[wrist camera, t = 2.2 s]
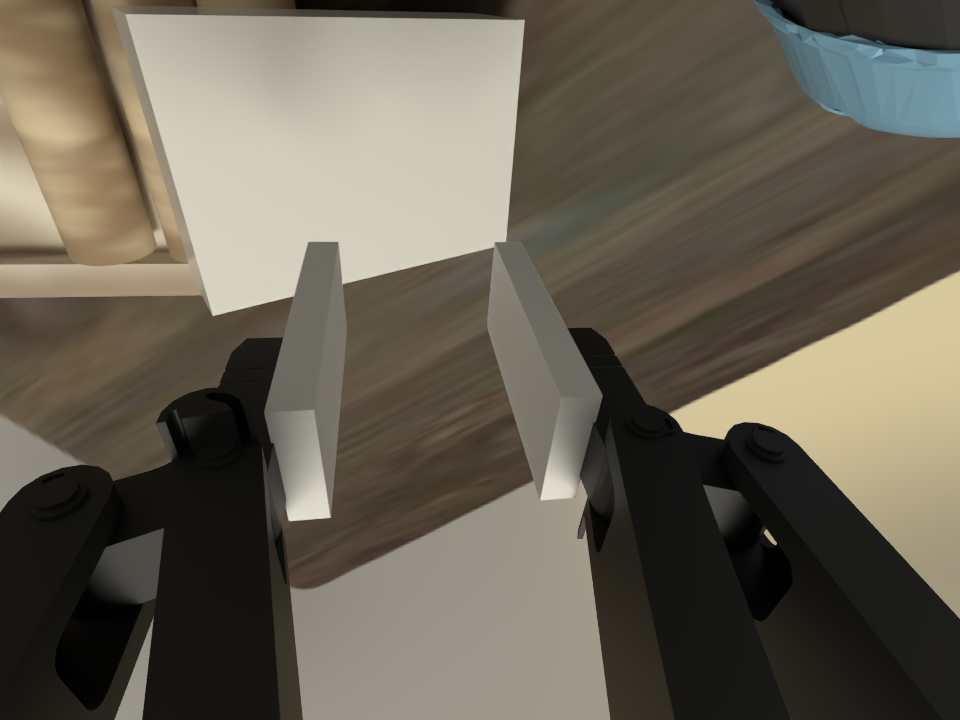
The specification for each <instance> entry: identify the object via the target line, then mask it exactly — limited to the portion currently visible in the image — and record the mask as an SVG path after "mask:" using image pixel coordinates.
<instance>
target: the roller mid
mask: <svg viewBox="0 0 960 720" xmlns="http://www.w3.org/2000/svg"><path fill="white" fill-rule="evenodd" d="M90 1H91V4H92V7H93V10H94V13H95V17H96V20H97V23H98V26H99V29H100V33H101V36H102V39H103V42H104V45H105V49H106V52H107V55H108V58H109V61H110V65H111V68H112V71H113V74H114V77H115V81H116V84H117V87H118V90H119V93H120V96H121V100H122V103H123V106H124V109H125V112H126V116H127V119H128V122H129V125H130V128H131V132H132V135H133V138H134V141H135V144H136V148H137V151H138V154H139V157H140V160H141V164H142V167H143V170H144V173H145V176H146V179H147V183H148V186H149V189H150V192H151V195H152V199H153V202H154V205H155V208H156V211H157V215H158V218H159V221H160V224H161V227H162V231H163V234H164V237H165V240H166V243H167V247H168V250H169V253H170V255H171V257H172V258H173V259H175V260H177V261H179V262H183V263H188V260H187V257H186V253H185V250H184V247H183V243H182V240H181V237H180V233H179V230H178V227H177V223H176V220H175V217H174V213H173V210H172V207H171V204H170V200H169V197H168V194H167V190H166V187H165V184H164V180H163V177H162V174H161V170H160V167H159V164H158V160H157V157H156V154H155V150H154V147H153V144H152V141H151V137H150V134H149V131H148V127H147V124H146V121H145V117H144V114H143V111H142V107H141V104H140V101H139V97H138V94H137V91H136V87H135V84H134V81H133V78H132V74H131V71H130V68H129V64H128V61H127V58H126V54H125V51H124V48H123V44H122V41H121V38H120V34H119V31H118V28H117V24H116V21H115V18H114V14H113V11H112V8H111V5H125V6H171V7H197V3H196V0H90ZM188 264H189V263H188Z"/></svg>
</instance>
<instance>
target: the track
mask: <svg viewBox="0 0 960 720" xmlns="http://www.w3.org/2000/svg"><path fill="white" fill-rule="evenodd" d="M81 2H82V5H83V8H84V11H85V15H86V18H87V21H88V24H89V27H90V31H91V34H92V37H93V40H94V43H95V47H96V50H97V53H98V56H99V60H100V63H101V66H102V69H103V72H104V76H105V79H106V82H107V85H108V89H109V92H110V95H111V98H112V101H113V105H114V108H115V111H116V114H117V118H118V121H119V124H120V127H121V130H122V134H123V137H124V140H125V143H126V146H127V150H128V153H129V156H130V159H131V163H132V166H133V169H134V172H135V175H136V179H137V182H138V185H139V188H140V192H141V195H142V198H143V201H144V204H145V208H146V211H147V214H148V217H149V220H150V224H151V227H152V230H153V233H154V237H155V240H156V243H157V247H156V249H155V250H154V251H153V252H152V253H150V254H149V255H147V256H145V257H143V258H141V259H138V260H135V261H132V262H128V263H123V264H118V265H110V266H86V265H81V264H77V263H75V262H73V261H71V260H70V258H69V256H68V254H67V251H66V249H65V246H64V244H63V242H62V239H61V237H60V235H59V232H58V230H57V227H56V225H55V223H54V220H53V218H52V216H51V213H50V211H49V208H48V206H47V204H46V201H45V199H44V197H43V194H42V192H41V190H40V187H39V185H38V182H37V180H36V178H35V175H34V173H33V171H32V168H31V166H30V163H29V161H28V159H27V156H26V154H25V152H24V149H23V147H22V144H21V142H20V140H19V137H18V135H17V133H16V130H15V128H14V125H13V123H12V121H11V118H10V116H9V114H8V111H7V109H6V106H5V104H4V102H3V99H2V97H1V95H0V298H26V297H97V296H168V295H202V294H201V292H200V291H199V289H198V287H197V285H196V283H195V281H194V279H193V276H192V273H191V270H190V267H189V264H188V263H183V262H179V261H177V260H175V259H173V258H172V257H171V255H170V253H169V250H168V247H167V243H166V240H165V237H164V234H163V231H162V227H161V224H160V221H159V218H158V215H157V211H156V208H155V205H154V202H153V199H152V195H151V192H150V189H149V186H148V183H147V179H146V176H145V173H144V170H143V167H142V164H141V160H140V157H139V154H138V151H137V148H136V144H135V141H134V138H133V135H132V132H131V128H130V125H129V122H128V119H127V116H126V112H125V109H124V106H123V103H122V100H121V96H120V93H119V90H118V87H117V84H116V81H115V77H114V74H113V71H112V68H111V65H110V61H109V58H108V55H107V52H106V49H105V45H104V42H103V39H102V36H101V33H100V29H99V26H98V23H97V20H96V17H95V13H94V10H93V7H92V4H91V1H90V0H81Z"/></svg>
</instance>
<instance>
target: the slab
mask: <svg viewBox="0 0 960 720" xmlns="http://www.w3.org/2000/svg"><path fill="white" fill-rule="evenodd" d="M111 8H112V11H113V14H114V18H115V21H116V24H117V28H118V31H119V34H120V38H121V41H122V44H123V48H124V51H125V54H126V58H127V61H128V64H129V68H130V71H131V74H132V78H133V81H134V84H135V87H136V91H137V94H138V97H139V101H140V104H141V107H142V111H143V114H144V117H145V121H146V124H147V127H148V131H149V134H150V137H151V141H152V144H153V147H154V150H155V154H156V157H157V160H158V164H159V167H160V170H161V174H162V177H163V180H164V184H165V187H166V190H167V194H168V197H169V200H170V204H171V207H172V210H173V213H174V217H175V220H176V223H177V227H178V230H179V233H180V237H181V240H182V243H183V247H184V250H185V253H186V257H187V260H188V263H189V267H190V270H191V273H192V276H193V279H194V281H195V283H196V285H197V287H198V289H199V291H200V292H201V294H202V296H203V298H204V300H205V302H206V304H207V306H208V308H209V309H210V311H211V313H212V315H213V316H214V315H218V314H222V313H226V312H231V311H235V310H239V309H243V308H247V307H251V306H255V305H259V304H263V303H267V302H271V301H275V300H280V299H284V298H288V297H292V296H294V295H295V291H296V287H297V283H298V279H299V275H300V271H301V268H302V264H303V260H304V256H305V252H306V248H307V244H308V242H339V252H340V262H341V273H342V284H345V283H349V282H353V281H357V280H361V279H365V278H369V277H373V276H378V275H382V274H386V273H390V272H394V271H398V270H402V269H406V268H410V267H414V266H418V265H422V264H427V263H431V262H435V261H439V260H443V259H447V258H451V257H455V256H459V255H463V254H467V253H471V252H476V251H480V250H484V249H488V248H492V247H494V243H495V242H506V235H507V223H508V211H509V199H510V187H511V175H512V164H513V152H514V140H515V128H516V116H517V104H518V92H519V81H520V69H521V57H522V45H523V33H524V21H525V20H521V19H513V18H506V17H499V16H492V15H485V14H478V13H446V12H400V11H354V10H308V9H257V8H217V7H171V6H125V5H111Z"/></svg>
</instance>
